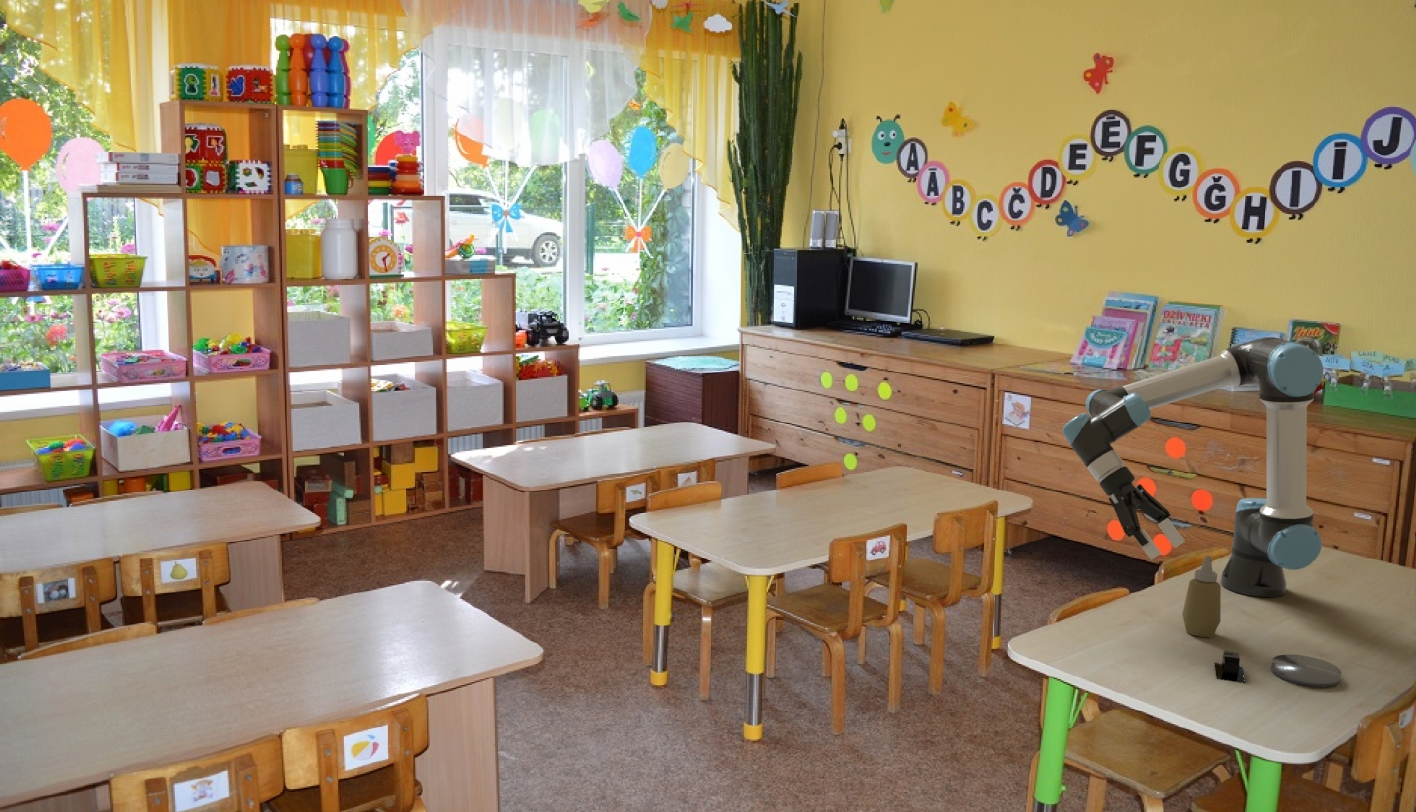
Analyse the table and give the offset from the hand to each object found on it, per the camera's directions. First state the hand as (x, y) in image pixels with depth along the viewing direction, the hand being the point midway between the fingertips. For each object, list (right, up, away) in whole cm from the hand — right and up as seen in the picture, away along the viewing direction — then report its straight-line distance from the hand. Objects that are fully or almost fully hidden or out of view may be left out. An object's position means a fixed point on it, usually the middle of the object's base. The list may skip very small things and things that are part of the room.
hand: (1168, 550), depth 275 cm
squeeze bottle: (+6, -19, -2) cm, 20 cm away
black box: (+3, -23, -24) cm, 34 cm away
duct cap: (+19, -23, -25) cm, 39 cm away
